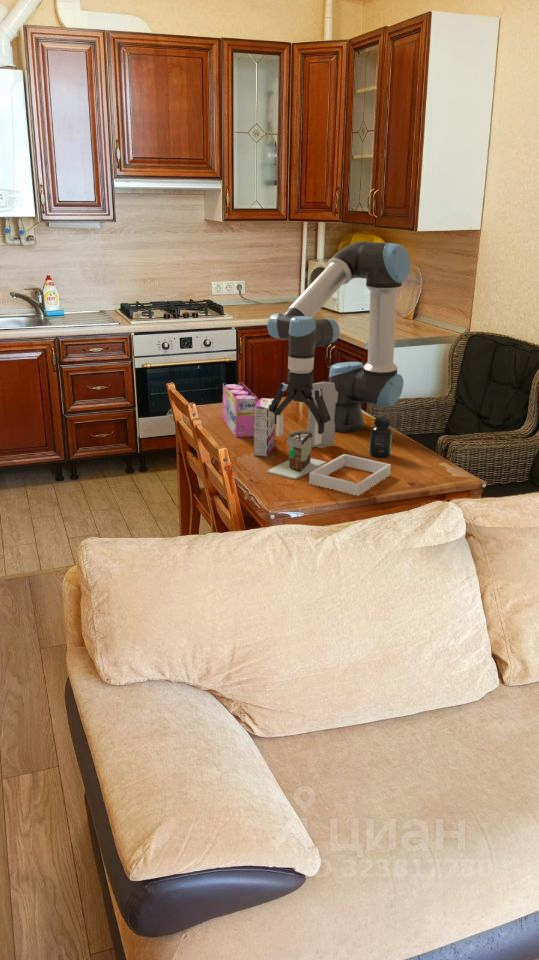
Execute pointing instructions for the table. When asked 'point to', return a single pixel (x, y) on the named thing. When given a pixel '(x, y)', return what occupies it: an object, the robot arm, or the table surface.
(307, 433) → the food container
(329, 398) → the grey upright slab
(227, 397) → the gum box
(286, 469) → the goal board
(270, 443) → the candy bar box
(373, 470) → the bin
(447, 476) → the table surface
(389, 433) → the supplement bottle
